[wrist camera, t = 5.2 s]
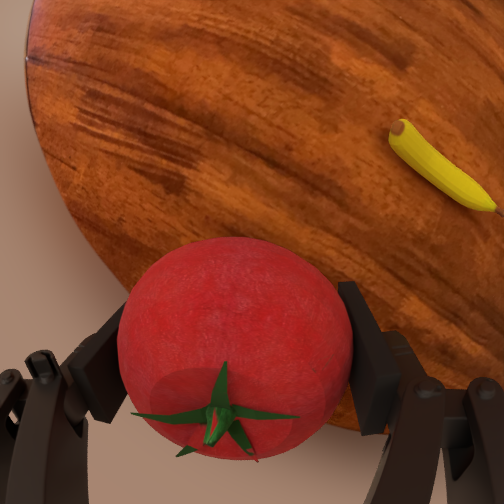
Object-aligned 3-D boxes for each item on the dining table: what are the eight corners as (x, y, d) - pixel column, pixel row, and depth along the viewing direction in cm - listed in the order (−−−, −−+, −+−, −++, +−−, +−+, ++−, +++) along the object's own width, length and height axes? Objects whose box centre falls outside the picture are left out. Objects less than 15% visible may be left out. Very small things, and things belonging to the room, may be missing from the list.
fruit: (476, 193, 19) (513, 203, 14) (465, 214, 19) (501, 229, 15) (380, 117, 18) (407, 107, 13) (367, 141, 19) (392, 137, 14)
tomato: (217, 393, 16) (187, 510, 9) (125, 269, 14) (22, 362, 7) (361, 338, 14) (406, 466, 7) (283, 179, 12) (292, 217, 5)
